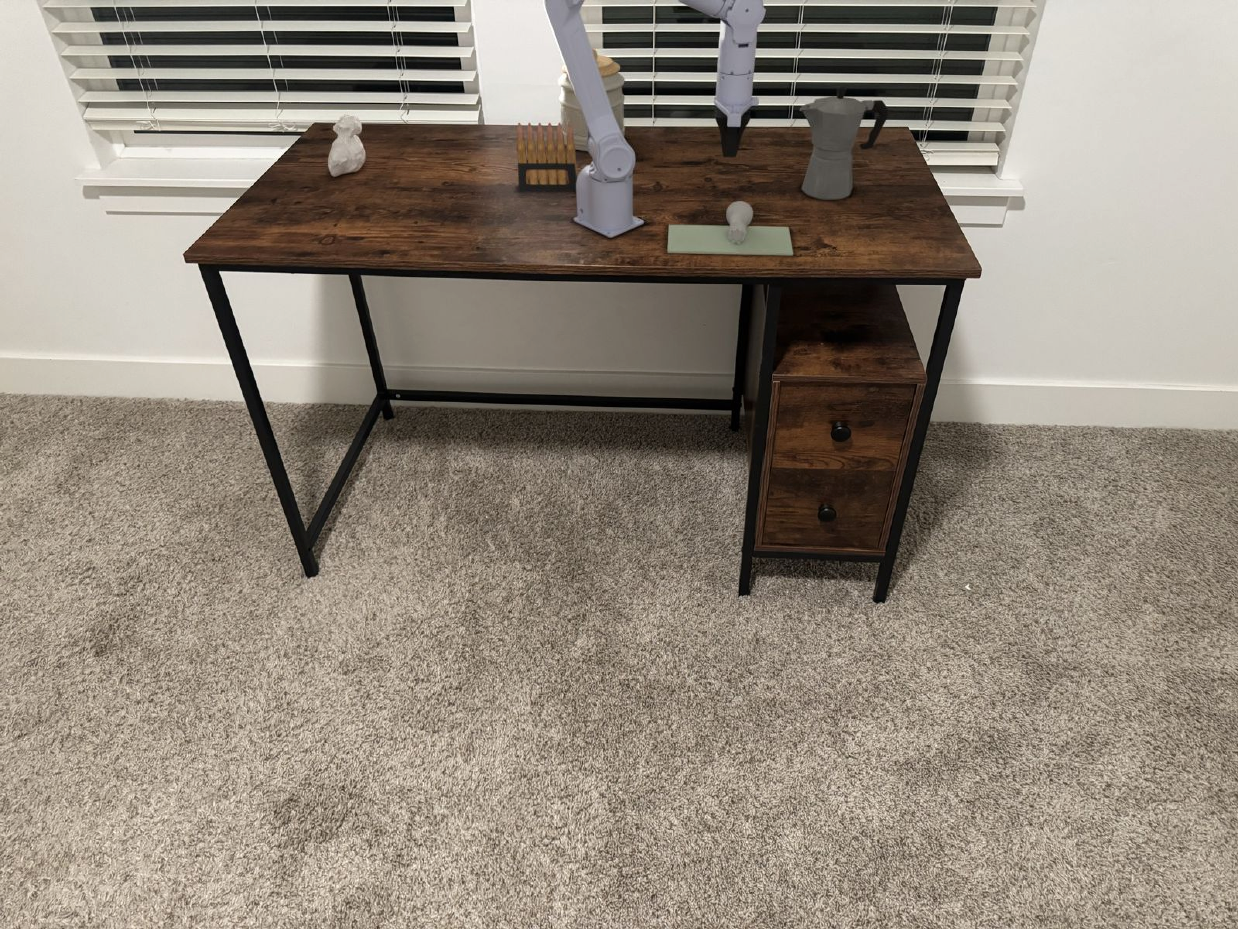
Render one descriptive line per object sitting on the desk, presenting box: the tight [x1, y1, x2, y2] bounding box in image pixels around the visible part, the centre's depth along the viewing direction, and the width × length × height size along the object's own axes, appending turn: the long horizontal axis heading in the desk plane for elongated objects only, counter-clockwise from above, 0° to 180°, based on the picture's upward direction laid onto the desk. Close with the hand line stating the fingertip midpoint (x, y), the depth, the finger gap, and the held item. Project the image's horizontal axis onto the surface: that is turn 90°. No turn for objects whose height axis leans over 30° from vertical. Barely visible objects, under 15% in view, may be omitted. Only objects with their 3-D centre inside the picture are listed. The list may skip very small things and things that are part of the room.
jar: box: [557, 47, 626, 152], centre depth 175 cm, size 13×13×18 cm
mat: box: [666, 224, 794, 256], centre depth 145 cm, size 20×10×1 cm, turn 86°
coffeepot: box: [799, 85, 890, 201], centre depth 155 cm, size 15×9×18 cm, turn 92°
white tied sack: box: [327, 113, 366, 178], centre depth 167 cm, size 12×8×11 cm
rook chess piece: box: [725, 200, 754, 244], centre depth 145 cm, size 4×4×8 cm
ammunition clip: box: [516, 122, 578, 192], centre depth 159 cm, size 11×2×12 cm, turn 88°
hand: (729, 155), depth 148 cm, fingers closed
